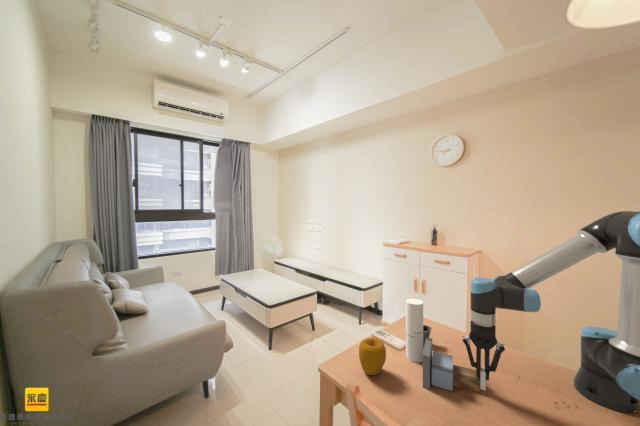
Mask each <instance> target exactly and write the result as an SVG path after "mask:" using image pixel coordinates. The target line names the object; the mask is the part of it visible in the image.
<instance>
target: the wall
mask: <svg viewBox="0 0 640 426" xmlns="http://www.w3.org/2000/svg"><path fill="white" fill-rule="evenodd" d="M432 357H433V338H430V337H429V338H427V337H426V340H425V345H424V346H423V361H422V387H423V388H425V389H428V390H430V389H431V383H432Z"/></svg>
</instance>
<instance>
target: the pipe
mask: <svg viewBox="0 0 640 426" xmlns="http://www.w3.org/2000/svg"><path fill="white" fill-rule="evenodd" d="M432 330H433V329H432V327H431V326H429V325H425V324H423V347H424V345H425V340H426V337H427V338H430V336H431V335H430V334H431V331H432Z"/></svg>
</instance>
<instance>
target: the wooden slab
mask: <svg viewBox="0 0 640 426" xmlns="http://www.w3.org/2000/svg"><path fill="white" fill-rule="evenodd" d="M454 386H455V387H458V388H461V389H465V390H466V389H467V390H471V391H475V392H478V393H481V388H480V378H477V375H476V369H474V368H469V367H465V366H460V365H455V364H453V387H454Z"/></svg>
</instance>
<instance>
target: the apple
mask: <svg viewBox="0 0 640 426" xmlns="http://www.w3.org/2000/svg"><path fill="white" fill-rule="evenodd" d="M358 358H359V362H360V366H361V369H362V370H363V372H364V373H365V374H366V375H369V376H375V375H378V374H379V373H380V372H381V371H382V368H383V367H384V365H385V362H386V359H387V350H386V346H385V344H384V342H383V341H382V340H380V339H379V338H375V337H367V338H364V339H363V340H361V341H360V343H359V347H358Z"/></svg>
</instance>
